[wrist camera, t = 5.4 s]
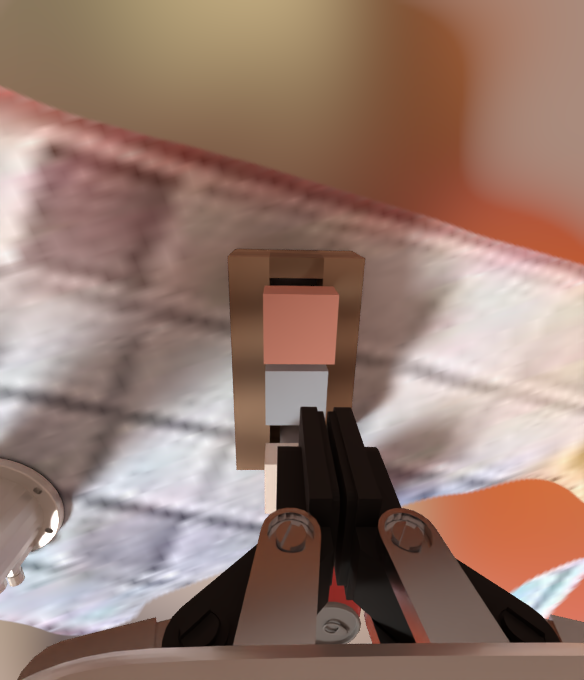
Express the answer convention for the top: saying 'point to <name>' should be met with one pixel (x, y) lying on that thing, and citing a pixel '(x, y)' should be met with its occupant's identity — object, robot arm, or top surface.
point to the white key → (287, 438)
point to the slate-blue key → (294, 391)
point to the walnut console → (247, 335)
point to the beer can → (337, 618)
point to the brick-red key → (300, 324)
